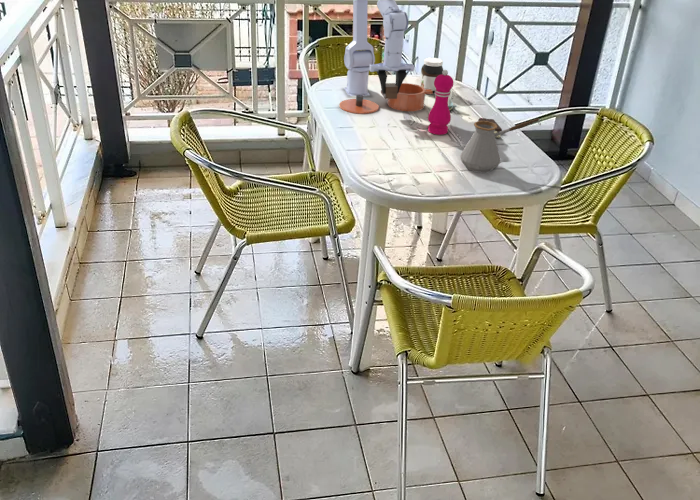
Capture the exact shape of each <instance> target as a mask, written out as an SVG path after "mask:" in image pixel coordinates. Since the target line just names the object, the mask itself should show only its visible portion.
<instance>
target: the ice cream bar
mask: <svg viewBox="0 0 700 500" xmlns="http://www.w3.org/2000/svg"><path fill="white" fill-rule="evenodd" d="M477 121H488V122H492V123H494V124H496V125H497V129H495V131H494V133H497V132H500V131H503V128H501V126H500V125H499V124H498V123H497V122H496V120H495V119H493V118H486V117H479V118H478V120H477ZM495 138H497V139H499V138H501V135H498V136H496V137H495Z"/></svg>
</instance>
